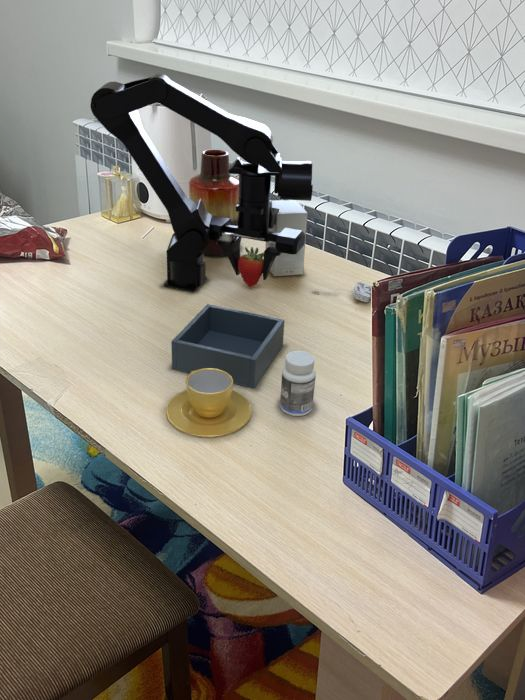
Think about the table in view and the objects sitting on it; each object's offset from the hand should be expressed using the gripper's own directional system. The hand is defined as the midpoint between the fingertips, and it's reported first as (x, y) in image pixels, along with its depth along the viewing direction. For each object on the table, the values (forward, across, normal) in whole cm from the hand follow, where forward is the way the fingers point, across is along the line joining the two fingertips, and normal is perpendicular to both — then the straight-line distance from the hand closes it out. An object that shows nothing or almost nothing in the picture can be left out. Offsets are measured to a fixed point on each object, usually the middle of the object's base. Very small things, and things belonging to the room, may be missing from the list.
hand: (251, 276), depth 132 cm
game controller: (+2, -18, -4) cm, 19 cm away
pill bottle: (+2, -20, +35) cm, 40 cm away
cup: (+2, -9, +41) cm, 42 cm away
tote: (+2, -6, +26) cm, 27 cm away
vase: (+2, +14, -15) cm, 21 cm away
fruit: (+2, 0, 0) cm, 2 cm away
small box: (+2, -3, -11) cm, 12 cm away
